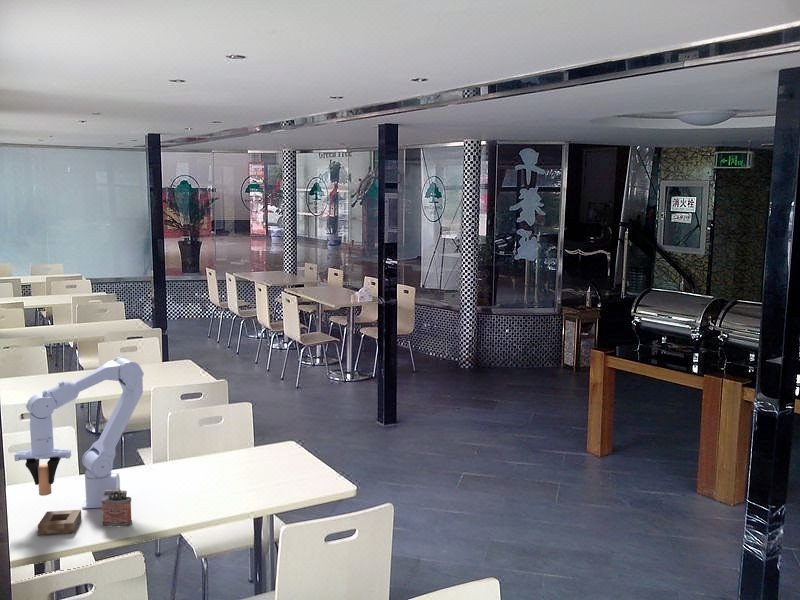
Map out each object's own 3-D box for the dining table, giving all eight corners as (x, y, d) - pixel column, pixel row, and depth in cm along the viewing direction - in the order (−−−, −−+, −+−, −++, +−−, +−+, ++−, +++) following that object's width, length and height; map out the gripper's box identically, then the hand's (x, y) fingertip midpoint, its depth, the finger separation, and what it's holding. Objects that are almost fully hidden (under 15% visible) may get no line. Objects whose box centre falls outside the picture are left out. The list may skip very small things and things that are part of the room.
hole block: (81, 519, 215) (80, 509, 214) (73, 533, 206) (73, 523, 206) (47, 521, 213) (46, 511, 213) (38, 535, 204) (37, 525, 204)
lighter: (133, 521, 214) (132, 487, 213) (130, 526, 211) (128, 492, 209) (104, 521, 214) (103, 487, 212) (100, 526, 210) (99, 492, 209)
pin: (52, 490, 218) (51, 464, 217) (49, 495, 215) (48, 468, 214) (40, 491, 218) (39, 464, 217) (37, 496, 215) (36, 468, 213)
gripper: (9, 442, 209) (12, 490, 211) (65, 440, 211) (68, 487, 213) (17, 434, 216) (20, 480, 218) (71, 432, 218) (74, 477, 220)
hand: (44, 483), depth 216 cm, fingers closed on pin, 3 cm apart
